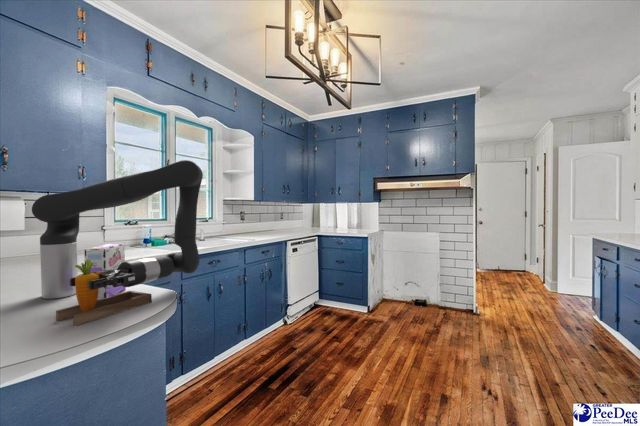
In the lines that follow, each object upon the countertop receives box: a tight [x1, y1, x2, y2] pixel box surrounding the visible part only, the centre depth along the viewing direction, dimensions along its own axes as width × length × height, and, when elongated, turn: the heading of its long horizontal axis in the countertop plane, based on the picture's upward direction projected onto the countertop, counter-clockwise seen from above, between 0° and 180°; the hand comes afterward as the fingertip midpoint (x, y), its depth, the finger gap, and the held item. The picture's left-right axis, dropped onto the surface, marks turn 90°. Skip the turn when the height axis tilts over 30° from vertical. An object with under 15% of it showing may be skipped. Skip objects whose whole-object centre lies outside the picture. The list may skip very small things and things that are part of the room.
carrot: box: [75, 259, 99, 312], centre depth 81 cm, size 5×5×15 cm
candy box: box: [84, 243, 127, 300], centre depth 101 cm, size 14×6×16 cm, turn 9°
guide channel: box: [55, 290, 153, 327], centre depth 86 cm, size 9×20×3 cm, turn 155°
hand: (79, 284), depth 80 cm, fingers open, 8 cm apart
